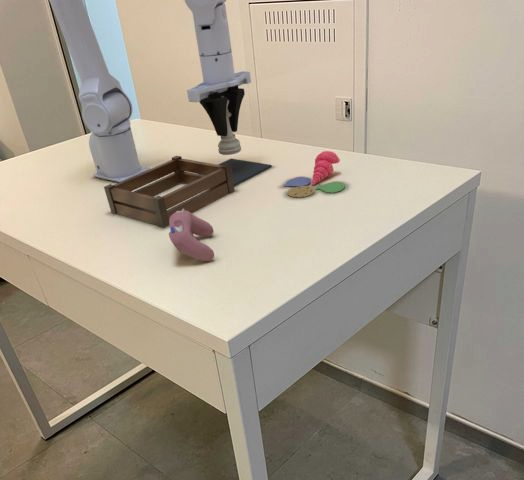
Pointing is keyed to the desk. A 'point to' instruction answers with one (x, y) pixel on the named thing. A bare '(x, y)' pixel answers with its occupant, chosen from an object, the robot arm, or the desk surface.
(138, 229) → the desk surface
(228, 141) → the chess piece
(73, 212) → the desk surface
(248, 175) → the mat
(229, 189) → the crate
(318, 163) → the toy pieces
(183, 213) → the video game controller
